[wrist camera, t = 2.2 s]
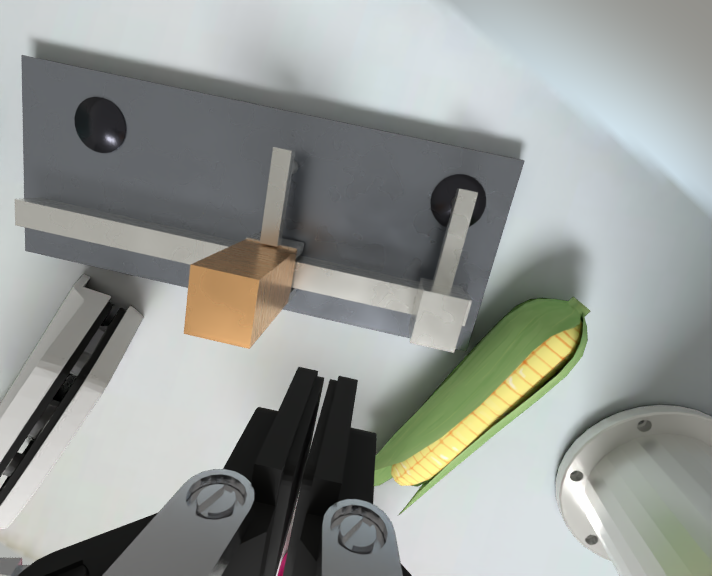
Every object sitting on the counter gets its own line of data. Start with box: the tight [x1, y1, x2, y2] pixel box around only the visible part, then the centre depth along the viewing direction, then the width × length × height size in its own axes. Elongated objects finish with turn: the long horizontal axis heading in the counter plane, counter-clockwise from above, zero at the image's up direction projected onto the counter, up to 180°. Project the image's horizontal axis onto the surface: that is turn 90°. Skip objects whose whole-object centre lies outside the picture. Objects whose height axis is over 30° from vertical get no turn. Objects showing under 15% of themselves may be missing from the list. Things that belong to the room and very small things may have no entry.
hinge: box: [0, 274, 144, 529], centre depth 28 cm, size 17×5×10 cm, turn 141°
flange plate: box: [22, 55, 524, 351], centre depth 27 cm, size 30×12×1 cm, turn 78°
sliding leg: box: [184, 147, 304, 349], centre depth 22 cm, size 3×9×9 cm, turn 168°
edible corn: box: [374, 297, 590, 515], centre depth 28 cm, size 5×20×5 cm, turn 141°
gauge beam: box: [15, 188, 478, 353], centre depth 24 cm, size 28×8×4 cm, turn 78°
